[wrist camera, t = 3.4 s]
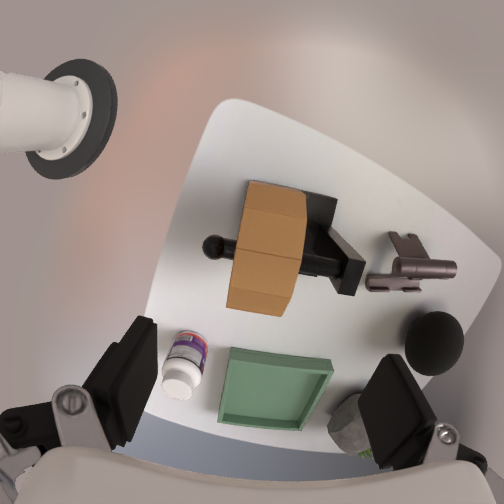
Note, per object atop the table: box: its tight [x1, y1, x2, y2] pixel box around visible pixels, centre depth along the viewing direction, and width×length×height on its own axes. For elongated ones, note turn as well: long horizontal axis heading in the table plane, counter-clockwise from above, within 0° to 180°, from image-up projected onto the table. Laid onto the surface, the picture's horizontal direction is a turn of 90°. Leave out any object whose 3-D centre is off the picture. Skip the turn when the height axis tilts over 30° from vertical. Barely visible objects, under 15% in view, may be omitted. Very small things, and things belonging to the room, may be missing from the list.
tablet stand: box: [366, 232, 457, 292], centre depth 30 cm, size 9×8×8 cm
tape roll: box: [226, 180, 307, 317], centre depth 24 cm, size 4×11×11 cm, turn 169°
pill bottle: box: [161, 331, 208, 400], centre depth 34 cm, size 5×5×10 cm
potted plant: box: [327, 394, 372, 459], centre depth 38 cm, size 12×13×15 cm
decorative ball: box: [405, 311, 464, 376], centre depth 33 cm, size 10×10×10 cm
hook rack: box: [202, 180, 366, 296], centre depth 27 cm, size 13×10×12 cm
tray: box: [217, 347, 334, 431], centre depth 40 cm, size 16×17×3 cm
